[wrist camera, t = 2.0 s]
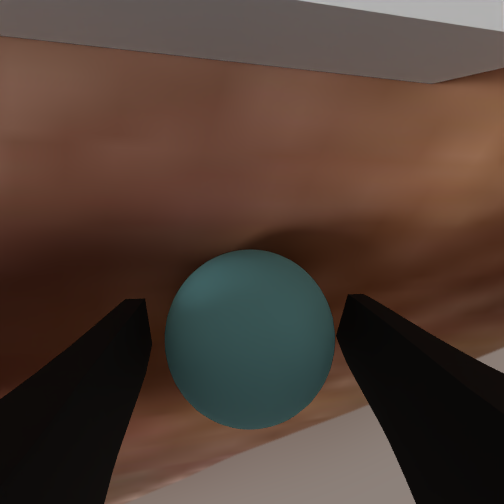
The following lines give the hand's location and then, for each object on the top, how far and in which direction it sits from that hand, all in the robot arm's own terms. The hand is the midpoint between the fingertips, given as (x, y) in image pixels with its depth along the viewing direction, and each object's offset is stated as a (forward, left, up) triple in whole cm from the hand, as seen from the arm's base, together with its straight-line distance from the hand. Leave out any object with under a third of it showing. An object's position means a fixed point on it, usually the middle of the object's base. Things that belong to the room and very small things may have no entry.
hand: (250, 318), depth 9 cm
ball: (0, 0, 0) cm, 1 cm away
